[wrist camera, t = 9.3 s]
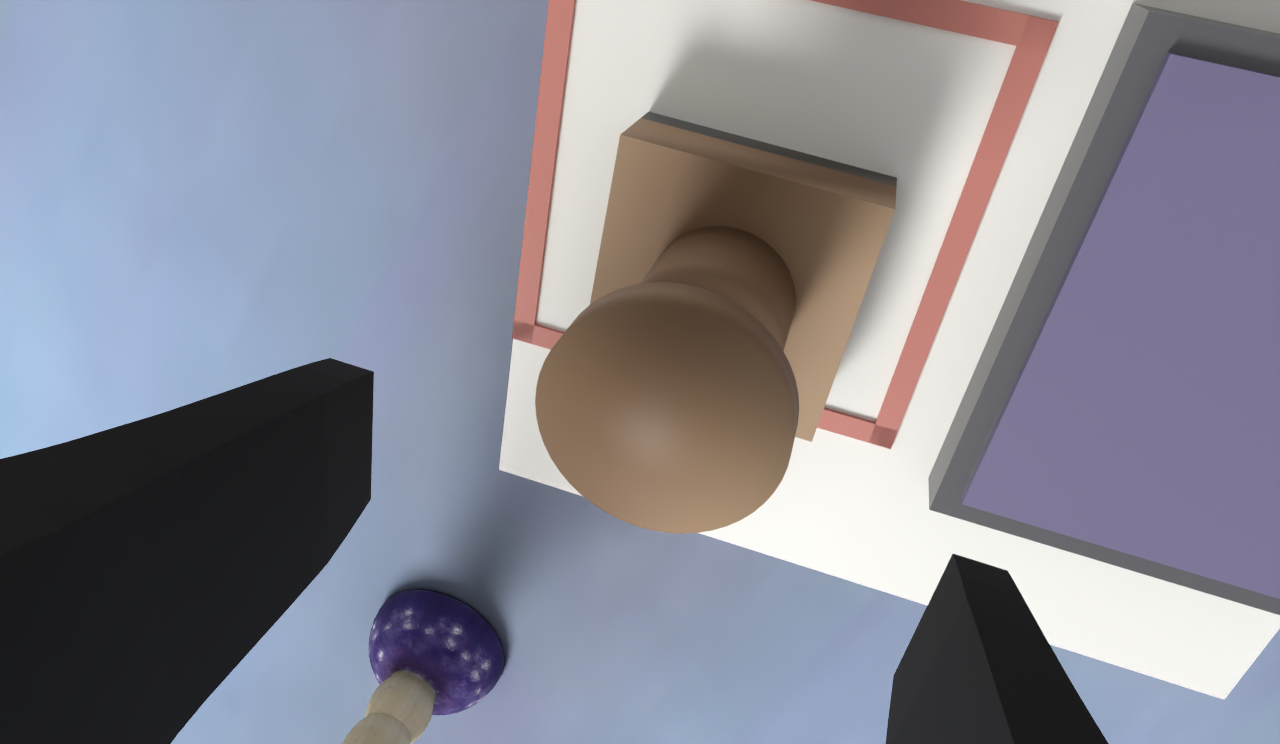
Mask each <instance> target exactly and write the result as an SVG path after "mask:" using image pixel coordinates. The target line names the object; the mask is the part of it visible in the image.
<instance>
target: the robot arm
mask: <svg viewBox="0 0 1280 744" xmlns="http://www.w3.org/2000/svg"><path fill="white" fill-rule="evenodd" d="M373 377H374V372H372V371H369V370H366V369H363V368H360V367H357V366H353V365H350V364H347V363H344V362H341V361H337V360H334V359H331V358H329V359H325V360H321V361H317V362H314V363H310V364H307V365H303V366H300V367H297V368H294V369H291V370H288V371H285V372H282V373H279V374H276V375H273V376H270V377H267V378H264V379H261V380H258V381H255V382H252V383H250V384H247V385H244V386H241V387H238V388H235V389H232V390H229V391H226V392H223V393H220V394H218V395H215V396H212V397H209V398H206V399H203V400H200V401H197V402H194V403H191V404H188V405H185V406H182V407H179V408H176V409H173V410H170V411H167V412H164V413H161V414H158V415H155V416H152V417H148V418H145V419H142V420H138V421H135V422H132V423H129V424H125V425H122V426H119V427H115V428H112V429H109V430H105V431H102V432H99V433H95V434H92V435H89V436H85V437H82V438H79V439H75V440H72V441H69V442H66V443H62V444H58V445H54V446H51V447H47V448H43V449H39V450H36V451H32V452H28V453H24V454H20V455H16V456H12V457H8V458H3V459H0V744H170V743H171V742H172V741H173V739H174V738H175V737H176V735H177V734H178V733H179V732H180V730H181V729H182V728H183V727H184V726H185V724H186V723H187V722H188V721H189V720H190V718H191V717H192V716H193V715H194V714H195V712H196V711H197V710H198V709H199V707H200V706H201V705H202V704H203V703H204V701H205V700H206V699H207V698H208V697H209V696H210V695H211V694H212V692H213V691H214V690H215V689H216V688H217V687H218V686H219V685H220V684H221V682H222V681H223V680H224V679H225V678H226V677H227V676H228V675H229V674H230V672H231V671H232V670H233V669H234V668H235V667H236V666H237V665H238V664H239V662H240V661H241V660H242V659H243V658H244V657H245V656H246V655H247V653H248V652H249V651H250V650H251V649H252V648H253V647H254V646H255V645H256V643H257V642H258V641H259V640H260V639H261V638H262V637H263V636H264V635H265V633H266V632H267V631H268V630H269V629H270V628H271V627H272V626H273V625H274V623H275V622H276V621H277V620H278V619H279V618H280V617H281V616H282V615H283V613H284V612H285V611H286V610H287V609H288V608H289V607H290V606H291V604H292V603H293V602H294V601H295V600H296V599H297V598H298V596H299V595H300V594H301V593H302V592H303V591H304V590H305V589H306V587H307V586H308V585H309V584H310V583H311V582H312V581H313V579H314V578H315V577H316V576H317V575H318V574H319V572H320V571H321V570H322V569H323V568H324V567H325V565H326V564H327V563H328V562H329V560H330V559H331V558H332V556H333V555H334V553H335V552H336V550H337V549H338V548H339V546H340V545H341V543H342V542H343V540H344V539H345V538H346V536H347V535H348V533H349V532H350V530H351V529H352V527H353V525H354V524H355V522H356V521H357V519H358V518H359V516H360V515H361V513H362V512H363V510H364V509H365V507H366V506H367V504H368V502H369V501H370V499H371V464H372V420H373ZM886 744H1108V742H1107V741H1106V739H1105V737H1104V736H1103V734H1102V733H1101V731H1100V729H1099V728H1098V726H1097V725H1096V723H1095V721H1094V720H1093V718H1092V716H1091V715H1090V713H1089V711H1088V710H1087V708H1086V706H1085V705H1084V703H1083V701H1082V700H1081V698H1080V696H1079V695H1078V693H1077V691H1076V690H1075V688H1074V686H1073V685H1072V683H1071V681H1070V679H1069V678H1068V676H1067V674H1066V673H1065V671H1064V669H1063V667H1062V666H1061V664H1060V662H1059V660H1058V659H1057V657H1056V655H1055V653H1054V652H1053V650H1052V648H1051V646H1050V645H1049V643H1048V641H1047V639H1046V638H1045V636H1044V634H1043V632H1042V630H1041V629H1040V627H1039V625H1038V623H1037V621H1036V620H1035V618H1034V616H1033V614H1032V612H1031V611H1030V609H1029V607H1028V605H1027V604H1026V602H1025V600H1024V598H1023V596H1022V595H1021V593H1020V591H1019V589H1018V587H1017V586H1016V584H1015V582H1014V581H1013V579H1012V577H1011V575H1010V574H1009V572H1008V571H1007V570H1004V569H1001V568H998V567H995V566H991V565H988V564H985V563H982V562H979V561H975V560H972V559H969V558H966V557H963V556H959V555H956V554H952V556H951V558H950V560H949V562H948V564H947V566H946V569H945V571H944V573H943V575H942V577H941V579H940V581H939V583H938V585H937V587H936V589H935V591H934V593H933V595H932V598H931V600H930V602H929V604H928V606H927V608H926V610H925V612H924V614H923V616H922V618H921V620H920V622H919V624H918V627H917V629H916V631H915V633H914V635H913V637H912V639H911V641H910V643H909V645H908V647H907V649H906V651H905V653H904V655H903V658H902V660H901V662H900V664H899V666H898V668H897V670H896V672H895V674H894V679H893V687H892V695H891V703H890V711H889V719H888V728H887V737H886Z"/></svg>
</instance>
